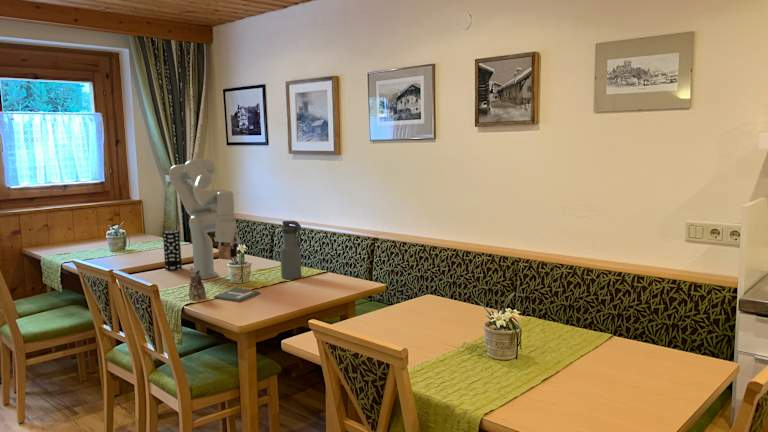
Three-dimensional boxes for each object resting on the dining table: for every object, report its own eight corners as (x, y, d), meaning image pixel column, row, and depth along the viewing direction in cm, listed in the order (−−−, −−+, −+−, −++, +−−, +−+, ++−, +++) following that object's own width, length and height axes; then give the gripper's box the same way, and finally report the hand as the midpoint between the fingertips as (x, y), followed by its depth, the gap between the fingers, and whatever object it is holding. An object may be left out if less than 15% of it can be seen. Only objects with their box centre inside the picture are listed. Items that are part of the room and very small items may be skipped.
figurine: (185, 299, 262) (183, 272, 260) (195, 295, 268) (194, 268, 266) (199, 301, 259) (197, 274, 257) (209, 296, 266) (207, 270, 264)
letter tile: (214, 298, 263) (214, 295, 263) (235, 290, 276) (235, 287, 275) (239, 302, 257) (239, 299, 257) (260, 293, 269) (260, 291, 269)
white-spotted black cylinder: (185, 268, 318) (183, 231, 315) (172, 271, 311) (169, 233, 308) (175, 266, 323) (172, 229, 319) (161, 269, 316) (159, 232, 312)
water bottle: (304, 274, 302) (302, 219, 298) (299, 279, 292) (297, 223, 288) (284, 274, 303) (282, 219, 299) (279, 279, 293) (276, 223, 289)
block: (218, 258, 279) (218, 246, 278) (227, 256, 284) (226, 243, 283) (228, 259, 276) (228, 247, 275) (237, 257, 281) (236, 244, 280)
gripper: (206, 217, 278) (208, 256, 280) (235, 220, 270) (237, 259, 273) (217, 215, 284) (219, 252, 287) (246, 217, 277) (248, 256, 279)
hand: (228, 255), depth 280 cm, fingers closed on block, 6 cm apart
